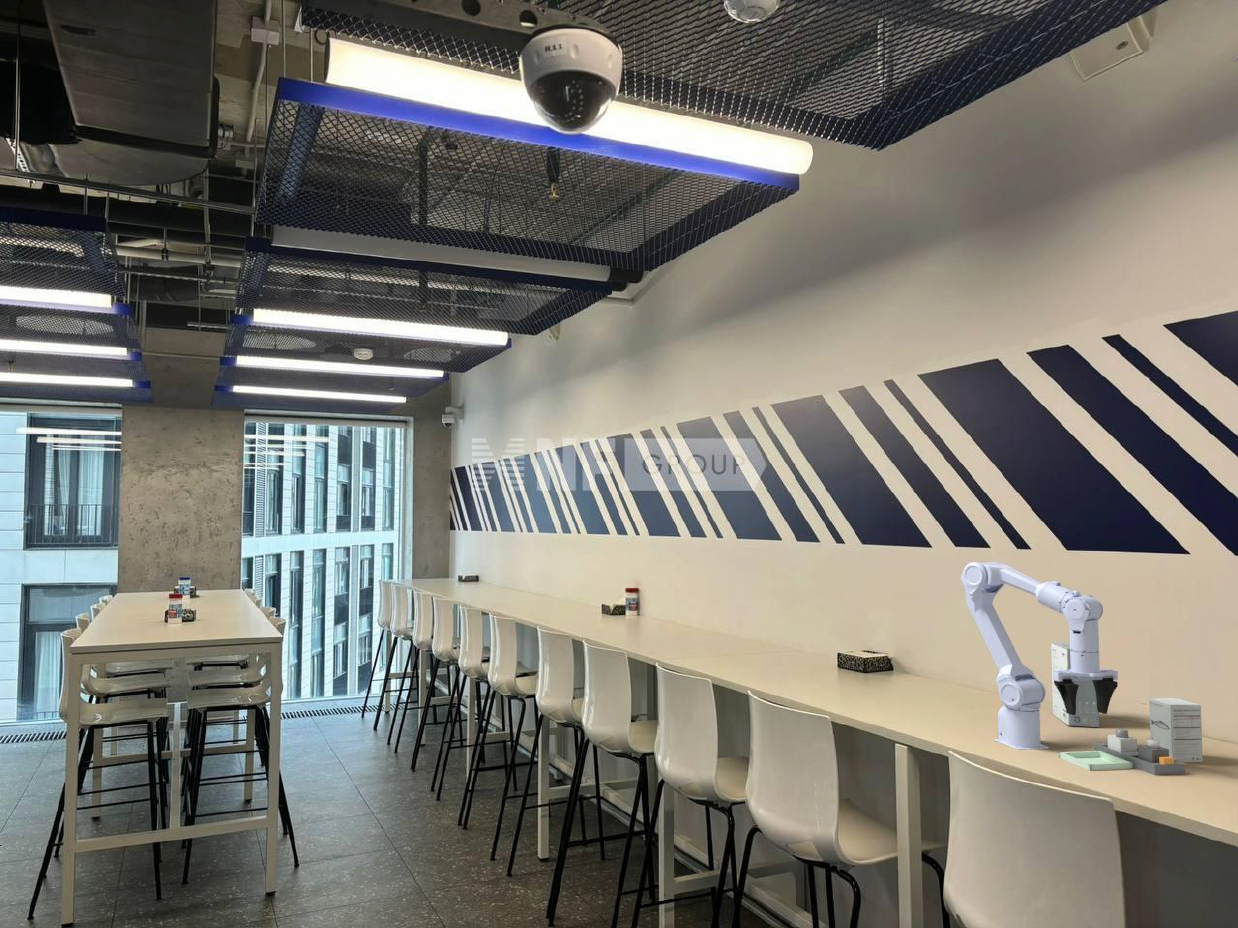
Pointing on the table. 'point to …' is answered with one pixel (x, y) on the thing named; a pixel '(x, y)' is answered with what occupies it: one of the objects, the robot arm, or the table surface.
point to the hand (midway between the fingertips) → (1086, 713)
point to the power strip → (1162, 768)
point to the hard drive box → (1085, 692)
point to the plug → (1152, 751)
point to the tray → (1095, 760)
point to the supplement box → (1177, 727)
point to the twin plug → (1122, 741)
